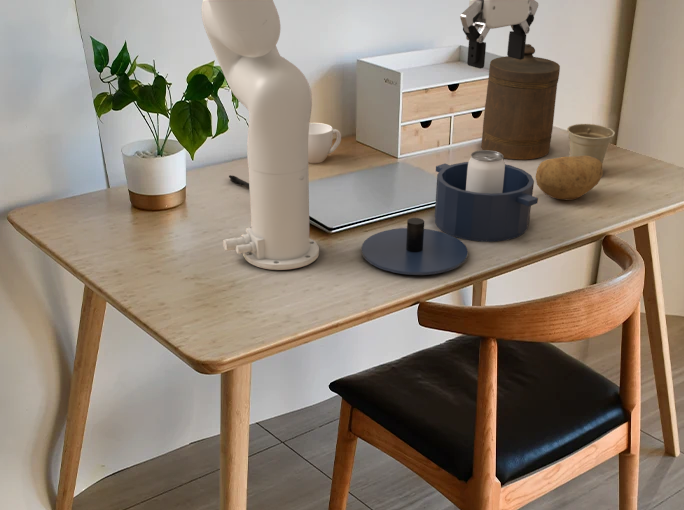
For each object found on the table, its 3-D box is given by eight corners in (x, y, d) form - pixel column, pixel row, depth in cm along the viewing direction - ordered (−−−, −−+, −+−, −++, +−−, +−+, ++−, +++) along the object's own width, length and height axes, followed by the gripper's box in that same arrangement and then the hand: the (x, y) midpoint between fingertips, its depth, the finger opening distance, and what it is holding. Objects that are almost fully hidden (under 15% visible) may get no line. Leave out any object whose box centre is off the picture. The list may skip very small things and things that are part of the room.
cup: (290, 156, 195) (289, 125, 191) (332, 150, 199) (332, 119, 195) (305, 168, 189) (304, 135, 185) (348, 161, 193) (349, 129, 189)
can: (478, 210, 170) (484, 146, 163) (506, 220, 166) (513, 155, 159) (456, 219, 166) (460, 154, 159) (484, 230, 162) (490, 164, 156)
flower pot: (614, 170, 191) (621, 128, 186) (598, 183, 184) (605, 140, 179) (571, 161, 195) (577, 120, 190) (554, 173, 188) (560, 132, 184)
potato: (612, 200, 176) (619, 160, 172) (550, 211, 171) (556, 169, 167) (582, 183, 184) (588, 144, 179) (522, 193, 179) (526, 153, 174)
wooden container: (559, 145, 204) (572, 42, 192) (534, 164, 193) (547, 56, 181) (497, 134, 210) (506, 33, 198) (470, 152, 199) (478, 47, 187)
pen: (225, 180, 182) (224, 174, 181) (232, 178, 183) (231, 172, 182) (266, 201, 173) (266, 195, 172) (273, 199, 174) (273, 193, 173)
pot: (495, 255, 154) (500, 207, 150) (405, 215, 168) (407, 170, 164) (558, 230, 164) (565, 184, 159) (468, 194, 178) (471, 151, 173)
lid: (412, 288, 143) (414, 253, 140) (339, 251, 155) (339, 217, 151) (489, 258, 153) (492, 224, 150) (415, 225, 165) (417, 193, 161)
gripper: (524, -59, 149) (513, 50, 158) (449, -50, 139) (442, 65, 149) (560, -54, 144) (547, 59, 154) (486, -44, 135) (476, 75, 144)
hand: (495, 62), depth 151 cm, fingers open, 9 cm apart
